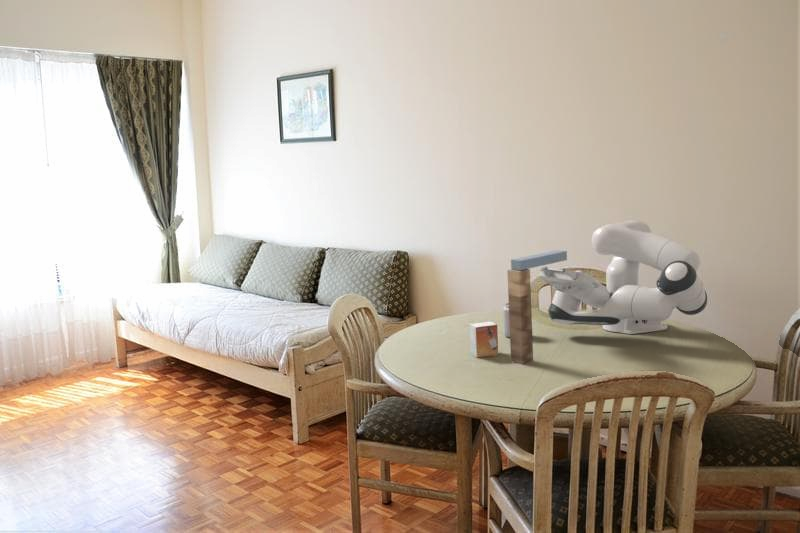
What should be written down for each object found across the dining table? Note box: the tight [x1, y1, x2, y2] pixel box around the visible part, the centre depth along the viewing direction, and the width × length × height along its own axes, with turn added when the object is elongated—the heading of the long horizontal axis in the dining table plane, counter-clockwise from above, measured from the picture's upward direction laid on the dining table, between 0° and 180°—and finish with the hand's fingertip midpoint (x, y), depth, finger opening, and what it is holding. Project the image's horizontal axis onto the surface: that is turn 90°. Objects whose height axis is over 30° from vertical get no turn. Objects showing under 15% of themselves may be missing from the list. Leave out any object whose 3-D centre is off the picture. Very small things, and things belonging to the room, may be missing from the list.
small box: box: [469, 320, 499, 358], centre depth 243 cm, size 8×6×10 cm
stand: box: [507, 268, 534, 365], centre depth 232 cm, size 5×5×30 cm
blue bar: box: [510, 249, 568, 270], centre depth 235 cm, size 22×4×3 cm, turn 127°
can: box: [502, 302, 510, 338], centre depth 263 cm, size 8×8×12 cm
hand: (553, 269), depth 239 cm, fingers open, 8 cm apart
